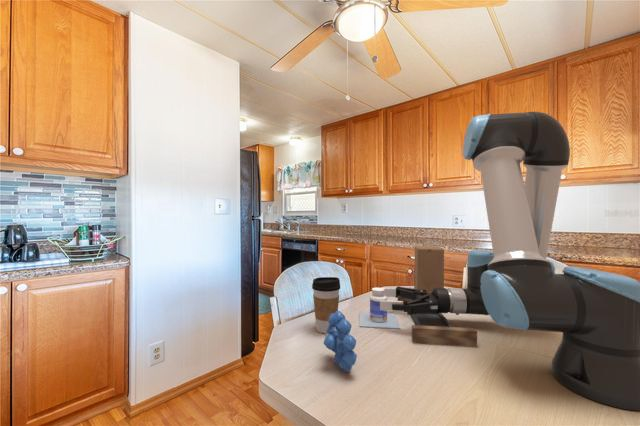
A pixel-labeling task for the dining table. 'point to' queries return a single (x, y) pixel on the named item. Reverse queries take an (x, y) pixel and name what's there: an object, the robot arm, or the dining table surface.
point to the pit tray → (430, 319)
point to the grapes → (341, 341)
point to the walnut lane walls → (443, 334)
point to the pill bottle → (377, 305)
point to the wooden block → (428, 268)
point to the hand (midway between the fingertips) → (377, 298)
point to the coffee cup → (325, 300)
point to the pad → (367, 322)
